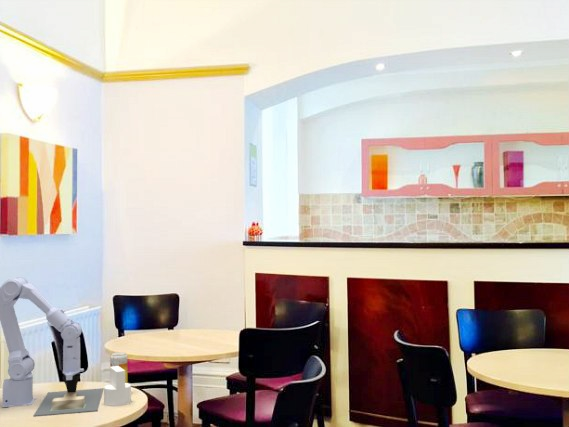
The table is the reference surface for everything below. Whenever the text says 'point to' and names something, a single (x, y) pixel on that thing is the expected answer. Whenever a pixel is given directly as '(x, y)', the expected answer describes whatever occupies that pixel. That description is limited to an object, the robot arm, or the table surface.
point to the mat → (90, 406)
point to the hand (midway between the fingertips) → (71, 395)
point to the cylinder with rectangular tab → (117, 388)
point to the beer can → (119, 362)
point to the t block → (68, 401)
